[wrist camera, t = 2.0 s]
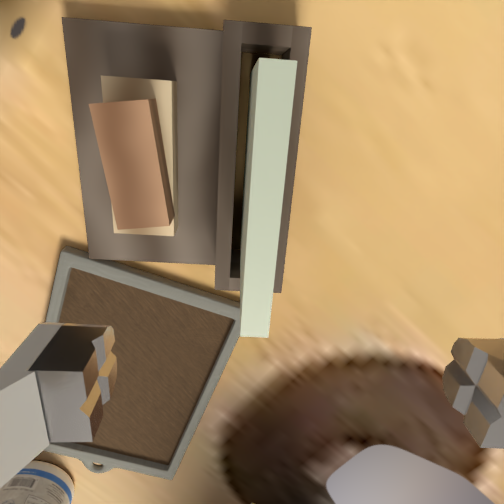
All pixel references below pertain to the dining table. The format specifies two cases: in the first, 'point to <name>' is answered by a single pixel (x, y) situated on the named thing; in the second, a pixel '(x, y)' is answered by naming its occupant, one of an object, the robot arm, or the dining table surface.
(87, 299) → the grey brown flat frame
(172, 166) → the offcut lower
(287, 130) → the grey-green rectangular panel
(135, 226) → the offcut upper
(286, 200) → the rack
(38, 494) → the supplement tub
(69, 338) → the robot arm
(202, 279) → the dining table surface
